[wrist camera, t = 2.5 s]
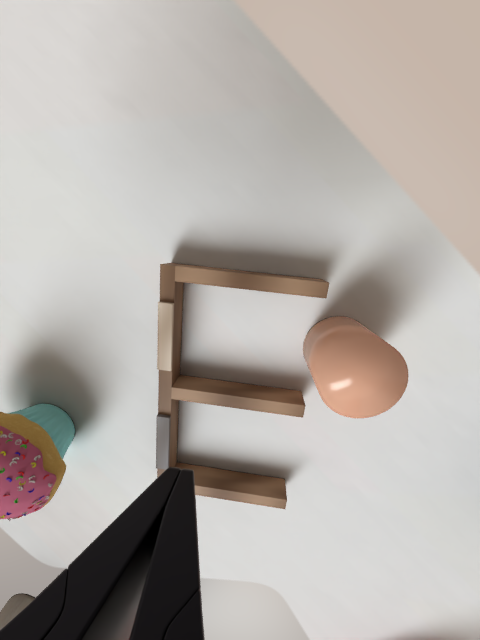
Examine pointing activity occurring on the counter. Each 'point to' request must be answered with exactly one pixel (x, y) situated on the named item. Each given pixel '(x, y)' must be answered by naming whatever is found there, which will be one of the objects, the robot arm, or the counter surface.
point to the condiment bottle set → (14, 607)
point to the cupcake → (32, 457)
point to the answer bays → (218, 381)
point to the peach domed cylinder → (354, 368)
